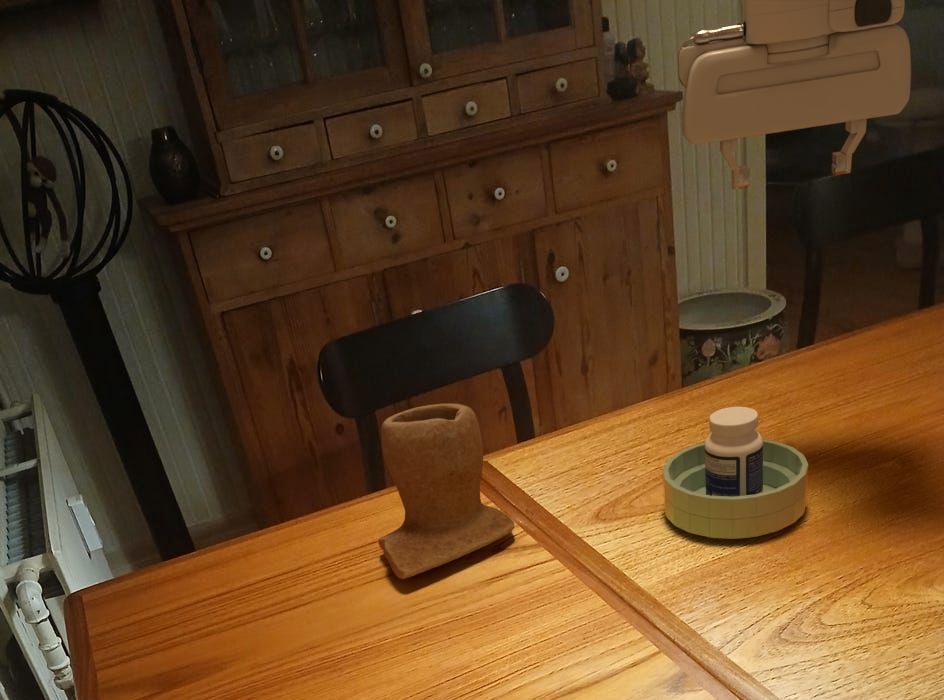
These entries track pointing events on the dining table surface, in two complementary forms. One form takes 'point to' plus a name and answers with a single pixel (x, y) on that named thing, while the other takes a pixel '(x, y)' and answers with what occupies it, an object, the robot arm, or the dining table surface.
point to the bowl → (736, 513)
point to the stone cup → (437, 488)
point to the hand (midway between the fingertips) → (790, 180)
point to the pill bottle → (734, 453)
